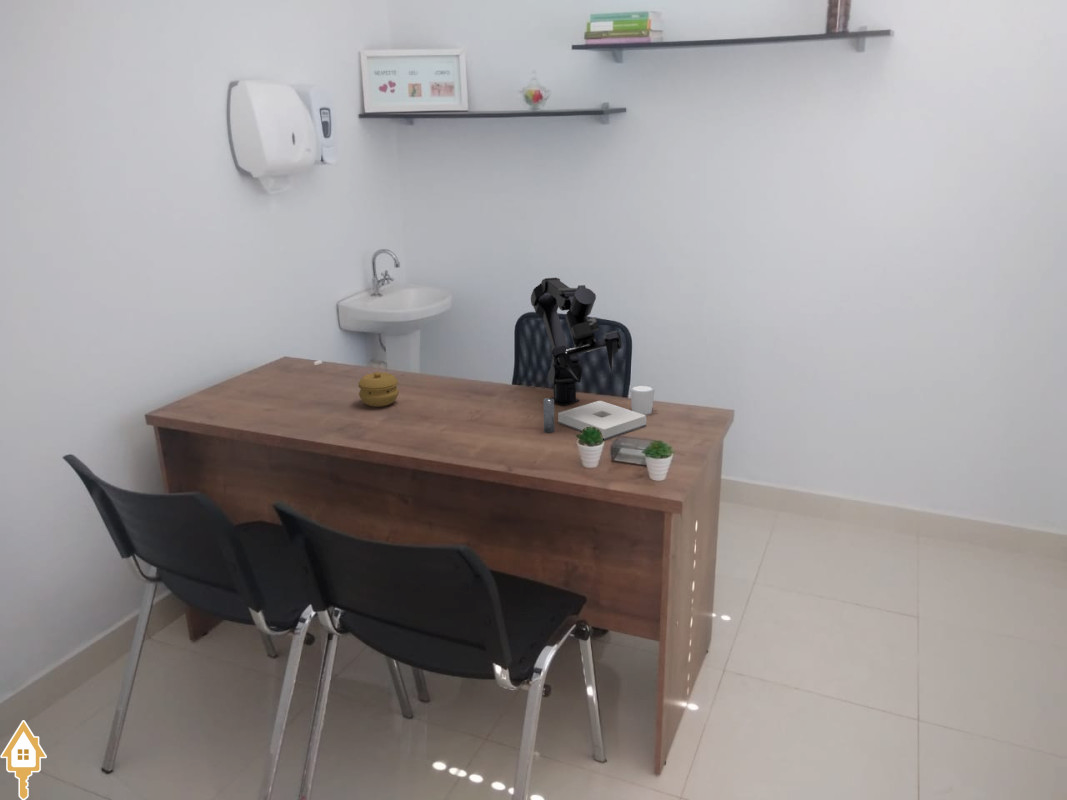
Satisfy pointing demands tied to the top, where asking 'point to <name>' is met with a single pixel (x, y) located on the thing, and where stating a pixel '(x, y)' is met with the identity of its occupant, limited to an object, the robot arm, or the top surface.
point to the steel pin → (548, 415)
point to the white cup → (642, 399)
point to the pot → (378, 389)
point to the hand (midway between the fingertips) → (594, 374)
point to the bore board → (602, 419)
